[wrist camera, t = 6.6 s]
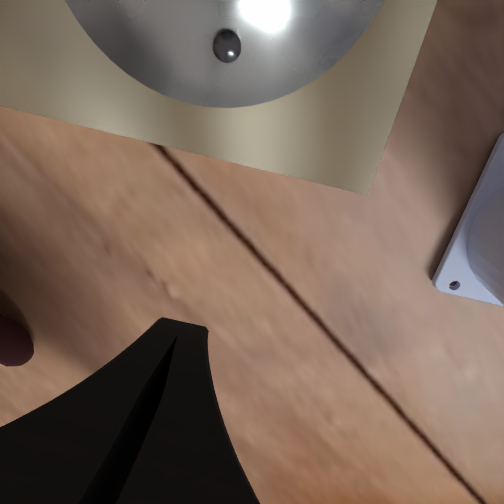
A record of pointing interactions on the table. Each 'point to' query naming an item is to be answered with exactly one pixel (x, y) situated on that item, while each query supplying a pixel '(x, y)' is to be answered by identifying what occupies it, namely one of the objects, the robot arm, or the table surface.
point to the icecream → (14, 343)
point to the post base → (221, 119)
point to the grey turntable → (224, 44)
